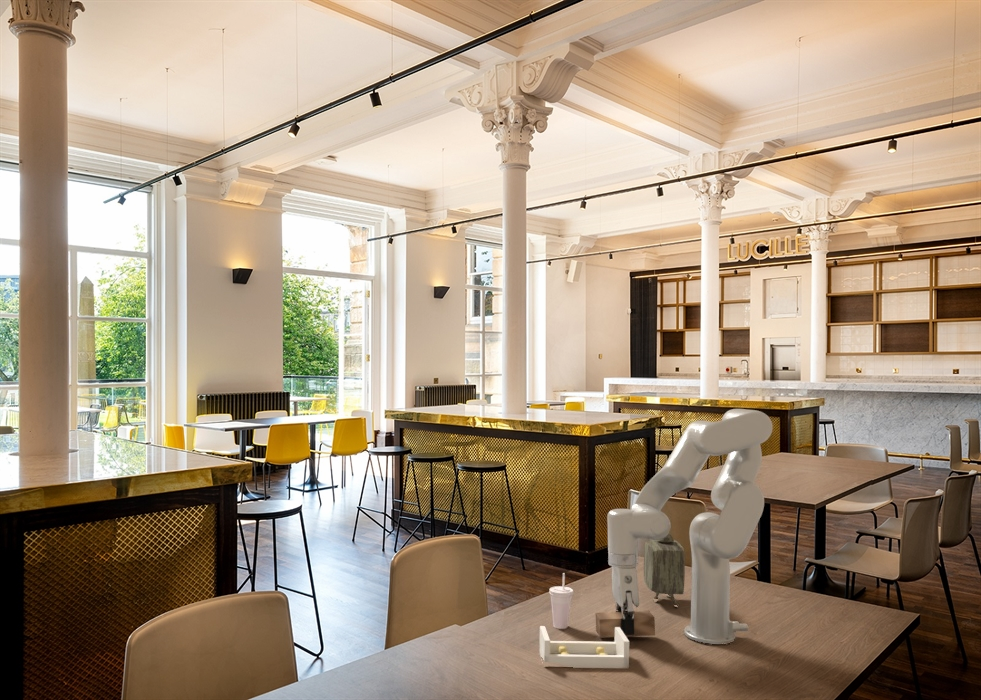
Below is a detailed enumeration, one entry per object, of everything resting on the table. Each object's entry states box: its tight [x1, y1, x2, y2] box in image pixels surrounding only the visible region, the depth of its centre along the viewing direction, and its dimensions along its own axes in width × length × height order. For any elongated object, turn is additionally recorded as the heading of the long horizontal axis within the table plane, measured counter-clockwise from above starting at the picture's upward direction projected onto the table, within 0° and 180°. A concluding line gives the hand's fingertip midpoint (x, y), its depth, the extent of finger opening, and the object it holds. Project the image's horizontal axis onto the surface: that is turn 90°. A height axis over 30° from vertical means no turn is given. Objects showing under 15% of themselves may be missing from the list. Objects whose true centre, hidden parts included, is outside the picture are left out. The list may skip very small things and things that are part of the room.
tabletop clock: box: [643, 533, 686, 606], centre depth 211 cm, size 14×9×25 cm, turn 179°
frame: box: [538, 625, 630, 669], centre depth 165 cm, size 19×9×6 cm, turn 93°
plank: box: [595, 610, 656, 639], centre depth 179 cm, size 14×5×4 cm, turn 93°
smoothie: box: [548, 572, 574, 630], centre depth 187 cm, size 6×6×14 cm
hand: (624, 629), depth 179 cm, fingers closed on plank, 5 cm apart
